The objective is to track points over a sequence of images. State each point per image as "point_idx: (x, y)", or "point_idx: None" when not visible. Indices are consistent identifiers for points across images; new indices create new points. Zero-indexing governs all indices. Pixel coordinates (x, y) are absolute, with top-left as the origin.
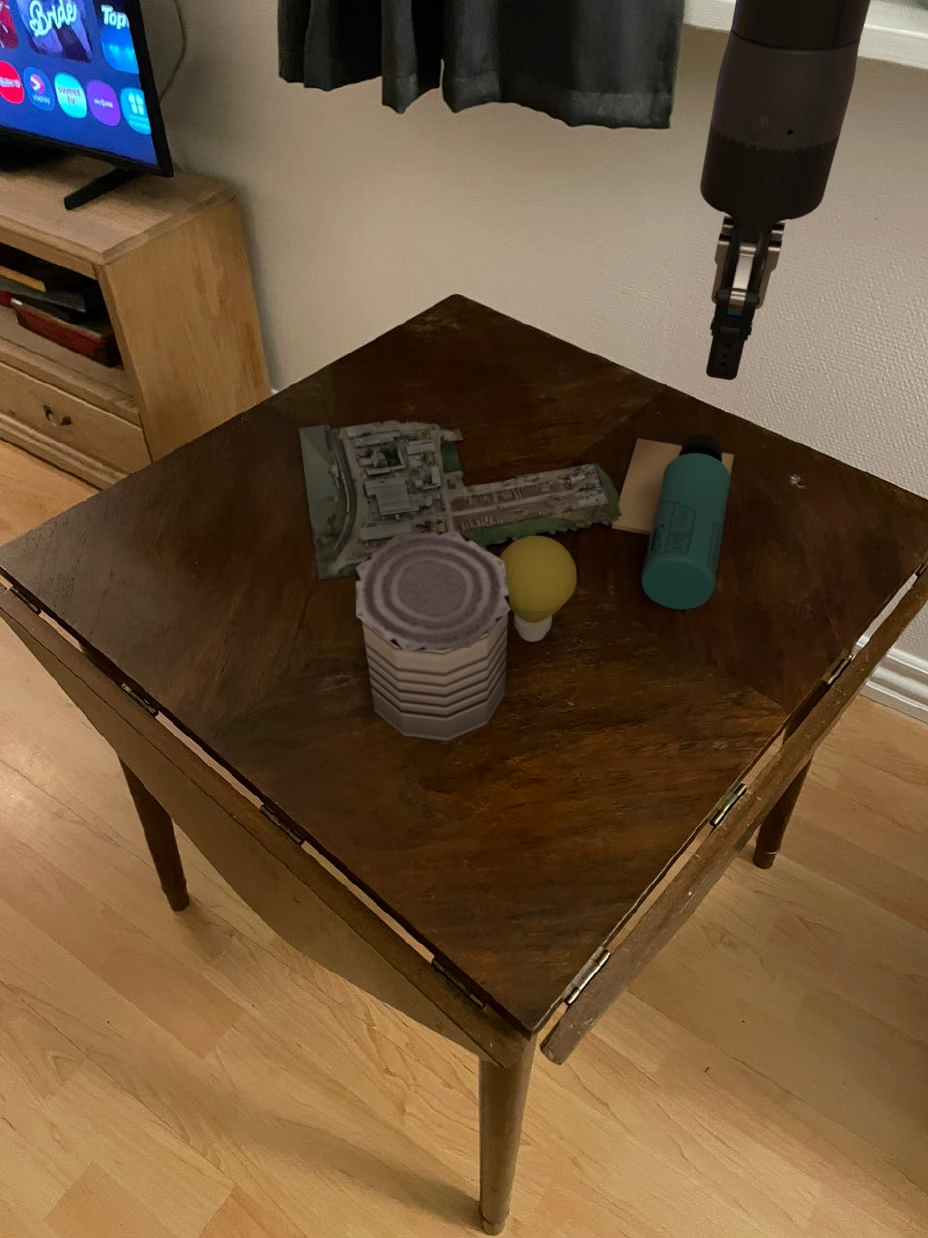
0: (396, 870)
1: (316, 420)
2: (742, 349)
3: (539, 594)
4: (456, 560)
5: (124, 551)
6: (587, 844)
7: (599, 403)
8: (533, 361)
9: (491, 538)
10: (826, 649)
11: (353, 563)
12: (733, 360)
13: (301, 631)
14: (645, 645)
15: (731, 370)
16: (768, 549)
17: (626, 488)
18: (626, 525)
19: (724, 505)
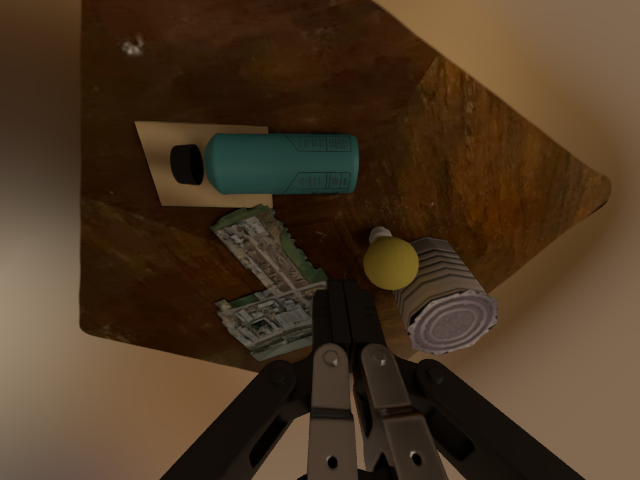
0: (525, 254)
1: (240, 353)
2: (364, 317)
3: (418, 263)
4: (431, 321)
5: (352, 375)
6: (530, 179)
7: (130, 235)
8: (110, 282)
9: (310, 268)
10: (370, 10)
11: None
12: (377, 314)
13: (389, 318)
14: (382, 168)
15: (373, 300)
16: (252, 76)
17: (229, 204)
18: (271, 198)
19: (258, 140)
